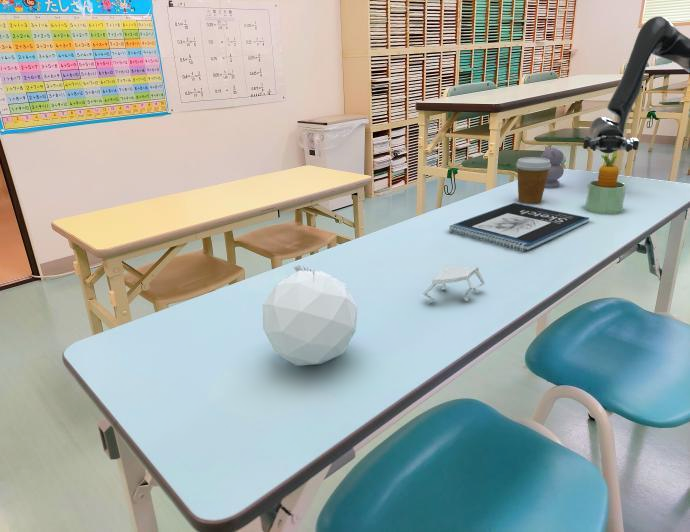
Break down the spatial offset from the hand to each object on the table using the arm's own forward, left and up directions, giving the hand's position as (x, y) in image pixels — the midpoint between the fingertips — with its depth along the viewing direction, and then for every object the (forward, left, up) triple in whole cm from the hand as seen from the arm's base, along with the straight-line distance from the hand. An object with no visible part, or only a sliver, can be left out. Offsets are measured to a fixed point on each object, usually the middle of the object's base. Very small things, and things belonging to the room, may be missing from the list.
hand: (611, 147), depth 145 cm
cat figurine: (+12, -17, -15) cm, 25 cm away
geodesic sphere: (+67, +90, -15) cm, 113 cm away
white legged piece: (+46, +68, -15) cm, 84 cm away
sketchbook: (+28, +27, -15) cm, 41 cm away
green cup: (+3, +10, -15) cm, 18 cm away
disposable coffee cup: (+21, +2, -15) cm, 26 cm away
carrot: (+3, +10, -15) cm, 18 cm away
